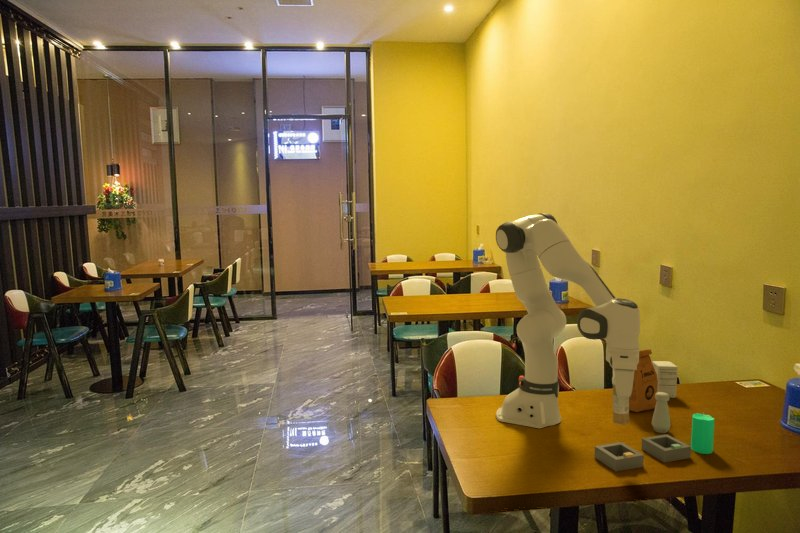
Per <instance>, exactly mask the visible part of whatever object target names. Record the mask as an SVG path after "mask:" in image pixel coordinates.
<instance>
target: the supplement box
mask: <svg viewBox="0 0 800 533" xmlns="http://www.w3.org/2000/svg"><path fill="white" fill-rule="evenodd" d="M651 362H652V364H653V366H654V368H655V371H656V374H657V379H658V387H657V392H665V393H667V394H668V395H669V399H671V398H673V399H674V398H675V399H676V398H677V385H678V366H677V365H675V364H674V363H673V362H672V361H667V360H666V361H664V360H663V361H662V360H660V361H659V360H651Z"/></svg>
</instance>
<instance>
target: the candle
mask: <svg viewBox="0 0 800 533" xmlns="http://www.w3.org/2000/svg"><path fill="white" fill-rule="evenodd" d="M691 418H692V419H691V437H690V438H691V439H690V446H691V450H692V451H693V452H695V453H699V454H703V455H704V454H705V455H709V454H712V453H714V438H715V437H714V436H715V434H714V433H715V420H716V419H715V418H714V417H712V416H711V415H710V414H705V412H704V411H703V413H700V412H697V413H693V414H692V417H691Z"/></svg>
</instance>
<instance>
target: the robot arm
mask: <svg viewBox="0 0 800 533" xmlns="http://www.w3.org/2000/svg"><path fill="white" fill-rule="evenodd" d="M557 221H558V220H556V218H555V217H554V216H553V215H552V214H550V213H546V212H545V213H543V212H542V213H537V214H532V215H525V216H522V217H519V218H516V219H514V220H510V221H506V222H503V223H501V224H500V225H499V226H497V229H496V232H495V241H496V244H497V246H498V248H499V249H500V250H501V251H502V252H503V253H505V259H506V260H505V261H506V266H507V269H508V270H507V271H508V274H509V277H510V280H511V284H512V288H513V290H514V294H515V297H516V298H517V300H518V301H520V302H521V304H522V305H523V307H524V308H525V310H526V312H527V314H525V315H524V316H523V317H522V318H521V319H520V320H519V321H518V323H517V325H516V334H517V337H518V339H519V340H520V341H521V344H522V348H523V353H524V362H525V363H524V375H519V377H518V388H516V389H515V390H513V391H512V392H510V393H509V394H507V395H506V396H505V397H504V400H503V402H502V406H500V407H499V408H497V410H496V412H495V417H496V420H498V421H499V422H503V423H508V424H513V425H519V426H525V427H529V428H530V427H531V428H537V429H542V428H545V427H550V426H551V427H552V426H555V425H558V424H559V423H561V422H562V417H561V413H560V408H559V399H558V397H559V394H560V383H559V380H558V366H559V359H558V355H556V353H555V350H554V343H553V342H554V338H555V337H557V336H559V335H561V333H562V332H563V331H564V330H565V328H566V326H567V317H566V314H565V312H564V311H563V310H561V308H559V306H558V304H557V303H556V301H555V299H554V297H553V295H552V294H551V292H550V290H549V288H548V285H547V282H546V279H545V276H544V273H543V270H542V267H541V265H542V266H543V268H544V270H546V271H547V273H548V274H549V275H551V277H554V278H557V279H561V280H565V281H569V282H572V283H574V284H576V285H577V286H580V287H581V288H582V289H583V291H585V293H586V295H588V297H589V298H590V300H591V301H592V302H593V304H594V305H595V306H592V307H591V306H590V307H588V308H584V309H582V310H581V311H580V312H579V314H578V316H577V319H576V324H577V325H576V326H577V329H578V332H579V333H580V335H582V336H583V337H584V338H585V339H587V340H595V341H596V340H604V341H606V347H605V361H606V362H607V363H609V366H610V367H611V368H612V377H614V376H615V388H616V393H617V396H618V405H619V406H625V399H626V397H630V396H631V393H632V387H633V380H634V370H637V364H638V363H639V351H640V342H639V335H640V334H641V313H640V308H639V306H638V304H637V303H636V302H635V301H633V300H630V299H627V298H620V297H617V298H616V296H615V295H614V294H613V292H612V291H611V290H610V289H609V287H608V286H607V285H606V283H605V282H604V280H603V279H602V278H601V277H600V276H599V274H598V273H597V272H596V270H595V269H594V267H592V266H591V265H590V264H589V263H588V262H587V261H586V260H585V259H584V257H582V255H581V254H580V253H579V252H578V251H577V249H576V248H575V246H574V245H573V243H572V241H571V240H570V238H569V237H568V235H567V234H566V233H565V231H564V230H563V229H562V228H561V226H560V225H559V224H558V222H557ZM540 263H541V264H540Z"/></svg>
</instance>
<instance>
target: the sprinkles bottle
mask: <svg viewBox="0 0 800 533" xmlns="http://www.w3.org/2000/svg"><path fill="white" fill-rule="evenodd" d="M611 384H612V422H613V423H614V424H616V425H620V426H626V425H629V423H630V410H629V397H626V399H625V406H619V405H618V396H617V393H616V388H615V376H614V377H613V376H612V377H611Z"/></svg>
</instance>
